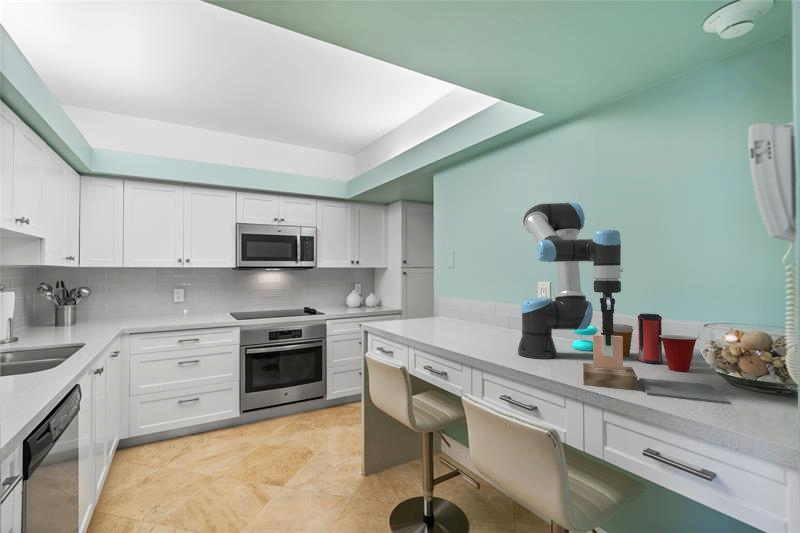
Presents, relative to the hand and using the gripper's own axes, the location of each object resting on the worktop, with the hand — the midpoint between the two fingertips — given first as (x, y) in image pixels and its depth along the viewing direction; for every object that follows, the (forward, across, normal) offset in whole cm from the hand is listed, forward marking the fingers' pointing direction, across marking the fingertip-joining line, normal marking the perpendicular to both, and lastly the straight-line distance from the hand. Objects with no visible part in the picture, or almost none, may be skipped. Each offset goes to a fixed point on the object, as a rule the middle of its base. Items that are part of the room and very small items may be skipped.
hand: (607, 355), depth 118 cm
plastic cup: (+9, +26, -23) cm, 36 cm away
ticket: (+6, 0, 0) cm, 6 cm away
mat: (+8, -1, -18) cm, 20 cm away
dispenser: (+8, 0, 0) cm, 8 cm away
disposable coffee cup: (+9, +44, -7) cm, 45 cm away
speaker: (+9, +35, -16) cm, 39 cm away
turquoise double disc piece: (+9, +51, +6) cm, 52 cm away
